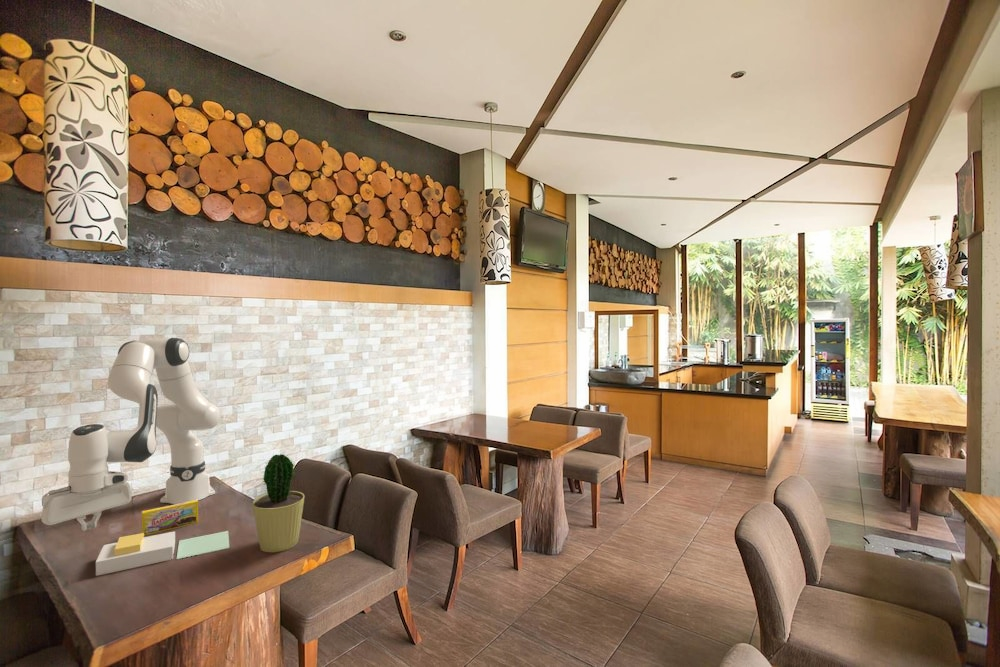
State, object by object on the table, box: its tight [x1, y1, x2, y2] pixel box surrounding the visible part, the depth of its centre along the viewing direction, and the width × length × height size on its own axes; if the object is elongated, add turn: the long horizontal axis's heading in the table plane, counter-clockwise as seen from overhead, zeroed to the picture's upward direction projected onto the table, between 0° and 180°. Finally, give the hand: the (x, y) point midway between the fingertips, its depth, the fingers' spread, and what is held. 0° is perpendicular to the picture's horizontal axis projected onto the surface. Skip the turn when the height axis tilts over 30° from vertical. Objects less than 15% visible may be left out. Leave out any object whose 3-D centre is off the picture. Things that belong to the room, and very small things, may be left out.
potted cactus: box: [251, 453, 305, 553], centre depth 153 cm, size 15×15×30 cm
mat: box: [175, 530, 230, 561], centre depth 153 cm, size 14×14×1 cm
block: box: [114, 532, 145, 556], centre depth 143 cm, size 9×6×2 cm, turn 32°
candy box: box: [141, 500, 199, 537], centre depth 165 cm, size 16×2×8 cm, turn 132°
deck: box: [95, 531, 176, 577], centre depth 144 cm, size 12×18×4 cm, turn 122°
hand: (89, 528), depth 138 cm, fingers closed
